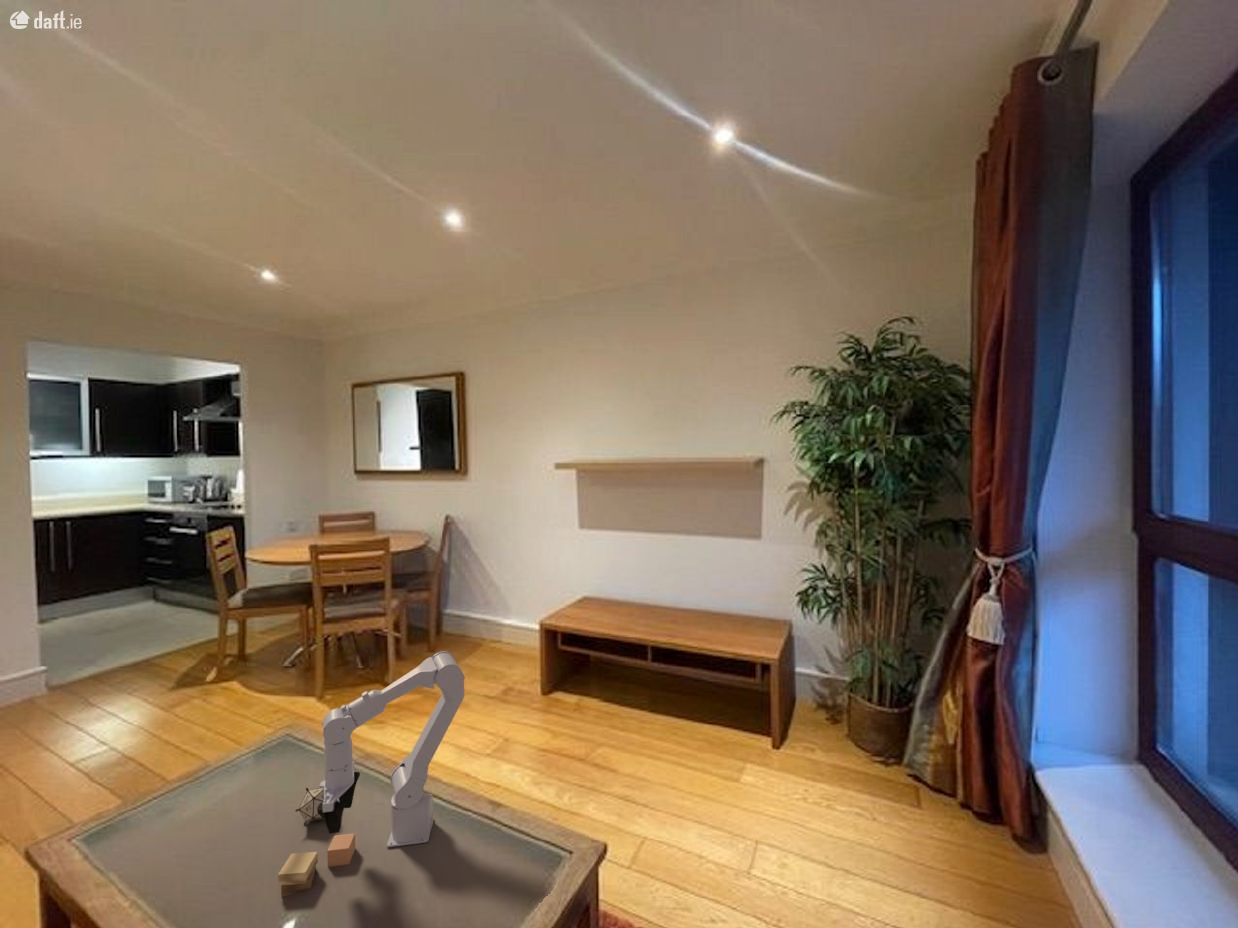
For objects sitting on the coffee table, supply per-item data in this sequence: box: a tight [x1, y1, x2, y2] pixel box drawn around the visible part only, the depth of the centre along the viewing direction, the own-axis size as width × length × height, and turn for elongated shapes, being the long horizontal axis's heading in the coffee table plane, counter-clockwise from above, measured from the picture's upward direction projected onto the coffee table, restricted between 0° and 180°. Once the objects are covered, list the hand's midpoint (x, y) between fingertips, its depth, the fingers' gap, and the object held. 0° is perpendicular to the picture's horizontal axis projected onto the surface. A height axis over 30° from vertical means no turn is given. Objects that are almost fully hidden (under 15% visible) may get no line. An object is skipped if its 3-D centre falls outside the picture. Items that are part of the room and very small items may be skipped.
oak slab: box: [277, 851, 319, 887], centre depth 114 cm, size 6×6×2 cm
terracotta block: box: [326, 832, 356, 868], centre depth 121 cm, size 4×4×4 cm
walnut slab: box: [280, 865, 317, 898], centre depth 114 cm, size 6×6×2 cm
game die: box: [294, 787, 324, 826], centre depth 132 cm, size 9×8×10 cm
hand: (340, 819), depth 120 cm, fingers open, 7 cm apart
